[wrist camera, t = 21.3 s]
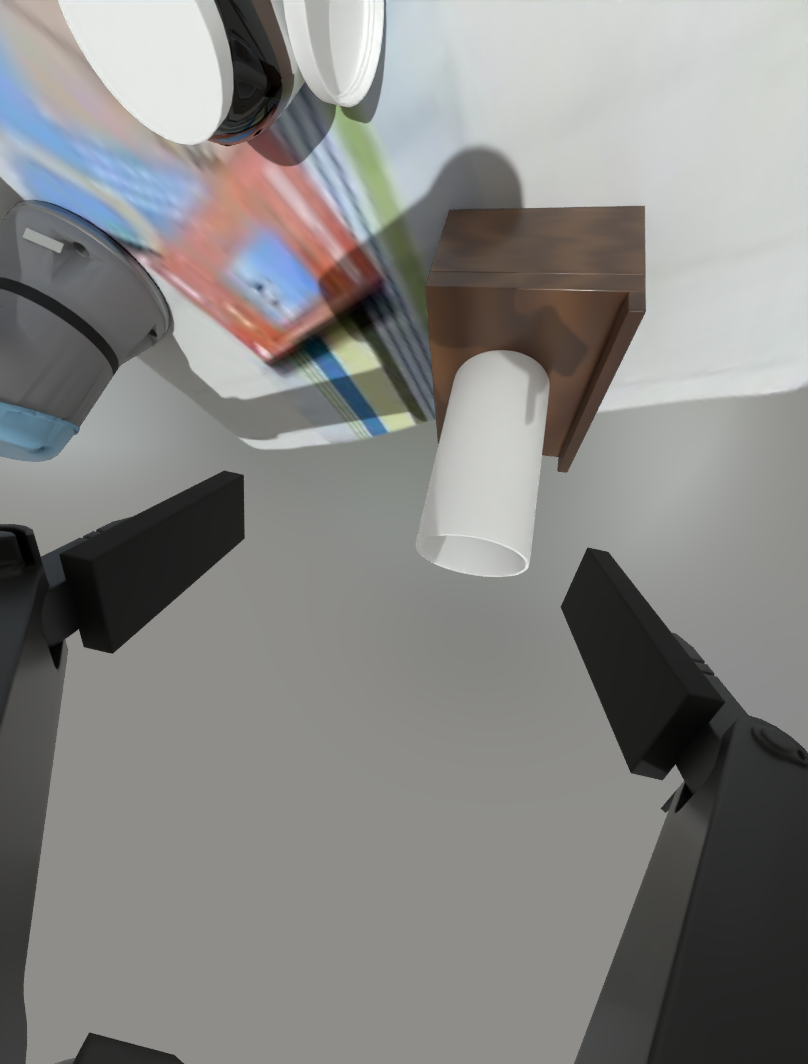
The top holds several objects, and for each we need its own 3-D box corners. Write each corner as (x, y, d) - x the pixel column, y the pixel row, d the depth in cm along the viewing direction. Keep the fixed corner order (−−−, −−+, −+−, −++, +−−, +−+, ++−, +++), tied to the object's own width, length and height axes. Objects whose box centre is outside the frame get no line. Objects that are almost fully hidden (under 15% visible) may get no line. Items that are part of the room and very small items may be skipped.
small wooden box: (452, 383, 46) (434, 457, 42) (448, 209, 29) (419, 303, 25) (573, 392, 43) (567, 472, 39) (645, 205, 26) (646, 311, 23)
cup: (565, 359, 29) (546, 551, 23) (532, 426, 36) (512, 584, 31) (459, 342, 30) (415, 524, 24) (449, 411, 37) (414, 562, 31)
